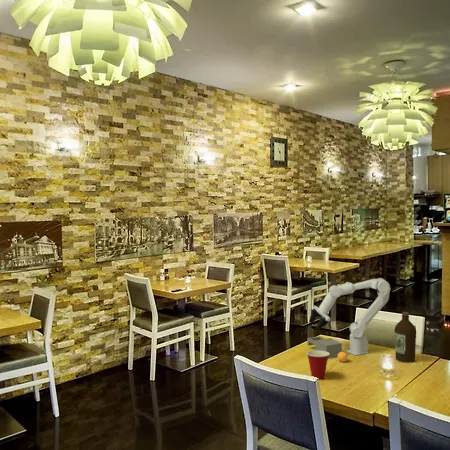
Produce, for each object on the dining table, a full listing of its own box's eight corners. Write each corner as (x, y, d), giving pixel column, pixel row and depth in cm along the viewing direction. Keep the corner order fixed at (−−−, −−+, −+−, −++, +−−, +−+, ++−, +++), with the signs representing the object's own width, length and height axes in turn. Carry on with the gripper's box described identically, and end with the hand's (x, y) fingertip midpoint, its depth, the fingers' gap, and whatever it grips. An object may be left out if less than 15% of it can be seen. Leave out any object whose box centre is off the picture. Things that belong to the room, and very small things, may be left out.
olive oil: (404, 355, 238) (404, 309, 237) (420, 361, 228) (421, 313, 227) (389, 358, 233) (390, 311, 232) (405, 364, 224) (405, 315, 223)
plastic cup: (328, 373, 213) (328, 348, 213) (331, 382, 203) (331, 356, 202) (305, 372, 215) (305, 348, 214) (307, 381, 204) (307, 355, 203)
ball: (343, 359, 233) (343, 349, 232) (349, 362, 228) (349, 352, 228) (335, 360, 231) (335, 351, 230) (341, 363, 226) (341, 354, 226)
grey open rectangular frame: (320, 346, 255) (320, 334, 254) (341, 356, 238) (341, 343, 237) (306, 348, 251) (306, 336, 250) (326, 358, 234) (326, 345, 233)
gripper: (314, 297, 249) (302, 317, 250) (328, 309, 236) (315, 330, 237) (323, 301, 252) (311, 321, 253) (337, 313, 239) (324, 334, 240)
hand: (313, 325), depth 246 cm, fingers open, 7 cm apart
